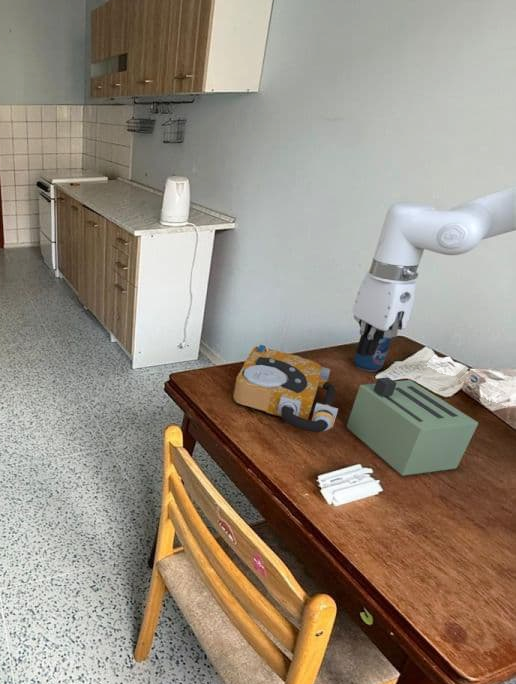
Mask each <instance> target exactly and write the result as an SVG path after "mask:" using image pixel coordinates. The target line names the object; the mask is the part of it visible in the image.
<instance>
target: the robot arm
mask: <svg viewBox="0 0 516 684" xmlns="http://www.w3.org/2000/svg"><path fill="white" fill-rule="evenodd" d="M515 231H516V185H514V186H511V187H508V188H505V189H502V190H499V191H496V192H493V193H490V194H487V195H484V196H481V197H478V198H475V199H472V200H469V201H466V202H463V203H460V204H458V205H455V206H454V207H452V208H450V209H449V210H437V209H436V208H435V207H434V206H432V205H431V204H427V203H421V202H404V201H403V202H397V203H393V204H392V205H390V206H389V208H388V209H387V212H386V214H385V217H384V221H383V224H382V228H381V231H380V234H379V238H378V241H377V243H376V247H375V251H374V254H373V258H372V261H371V263H370V268H369V270H368V271H367V272H366V274H365V276H364V278H363V280H362V281H361V284H360V287H359V289H358V292H357V294H356V297H355V300H354V304H353V307H352V313H353V319H354V320H355V321H356V322H357V323H358V325H359V335H360V337H361V338H359V341H358V344H357V348H356V351H355V353H356V352H357V353H358V354H360V355H361V356H369V355H374V354H375V352H376V349H377V346H378V343H379V340H380V339H383V338H384V337H385V338H392V339H396V338H397V337H398V332H399V331H403V330H406V328H407V326H408V323H409V320H410V317H411V313H412V310H413V307H414V302H415V298H416V297H415V296H416V290H417V282H416V281H414V280H416V279H417V278H418V277H419V273H418V272H417V271H418V269H419V266H420V263H421V260H422V257H423V254H424V252H425V250H427V251H430V252H433V253H437V254H440V255H443V256H444V255H445V256H459V255H463V254H467V253H468V252H471V251H472V250H473V249H474V248H476V247H477V246H478V245H479V244H480V243H481V241H484V240H486V239H490V238H493V237H496V236H500V235H503V234H504V235H505V234H507V233H510V232H515ZM378 330H380V331H378ZM398 330H399V331H398ZM361 335H362V336H361Z"/></svg>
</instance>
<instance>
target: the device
mask: <svg viewBox="0 0 516 684" xmlns="http://www.w3.org/2000/svg"><path fill="white" fill-rule="evenodd" d="M330 373H331V368H328V367H325V366H322V365H321V364H319V363H317V362H316V361H314V360H313V359H308V358H305V357H302V356H300V355H295V354H291V353H288V352H283V351H279V350H275V349H271V348H266V345H263V344H259V346H255V347H253V349H252V351H250V354H249V355H248V356H247V358H246V360H245V361H244V363H243V366H242V367H241V369H240V371H239V372H238V374H237V376H236V380H235V385H234V390H233V400H234V401H235V402H236V403H237V404H239V405H243V406H246V407H248V408H249V407H250V408H252V409H255V410H260V411H263V412H265V413H266V414H269V415H274V416H278V417H281V418H282V419H283V420H284V421H285V422H286V423H287V424H288V425H291V426H293V427H294V428H298V429H301V430H304V431H307V432H312V433H321V432H325V431H326V432H327V431H329V430H330V429H332V428H334V425H335V421H336V418H337V415H338V411H339V408H337V407H334V406H333V401H334V398H335V393H336V388H335V385H333V384H332V383H331V382H329V377H330ZM318 388H319V389H321V390H326V392H325V396H324V398H323V399H324V400H323V403H319V402H316V404H315V405H314V402H315V399H316V395H317V391H318ZM313 405H314V406H315V407H314V409H313V413H312V416H311V420H310V419H309V418H310V414H311V412H312V408H313Z"/></svg>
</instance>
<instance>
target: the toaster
mask: <svg viewBox="0 0 516 684" xmlns="http://www.w3.org/2000/svg"><path fill="white" fill-rule="evenodd" d="M394 382H396V383H397V384H396V387H395V389H394V392H393V395H392V396H383V397H382V396H380V395H379V394H377V393H376V392H375V391H374V387H375V385H376V383H368V384H367V383H366V384H360V385H359V386H358V387H359V388H358V390H357V392H356V393H357V394H356V396H355V399H354V403H353V405H352V409H351V412H350V415H349V418H348V421H347V424H346V429H348V430H349V432H351V433H352V434H353V435H354V436H356V437H357V438H358V439H359V440H360V441H362V442H363V443H364V444H365V445H366V446H367V447H368V448H369V449H371V450H372V451H373V452H374V453H375V454H376V455H378V457H380V458H381V459H382V460H384V462H386V464H388V466H390V467H391V468H393V469H394V471H396V472H397V473H398V474H399V475H401V476H410V475H417V474H418V475H419V474H426V473H432V472H433V473H434V472H441V471H447V470H455V469H458V466H459V464H460V462H461V460H462V458H463V456H464V454H465V452H466V450H467V448H468V446H469V444H470V442H471V439H472V437H473V436H474V433H475V432H476V430H477V428H478V426H479V422H478V421H477V420H475V419H474V418H472V417H471V416H469V415H467V414H465V413H464V412H462V411H461V410H459V409H458V408H456V407H454V406H453V405H451V404H450V403H448V402H446V401H445V400H443V399H442V398H440V397H438V396H437V395H435V394H434V393H432V392H431V391H429V390H427V389H426V388H424V387H422V386H421V385H419V384H418V383H416V382H414V381H413V380H411V379H407V380H406V379H405V380H396V381H394Z"/></svg>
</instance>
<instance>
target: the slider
mask: <svg viewBox="0 0 516 684" xmlns="http://www.w3.org/2000/svg"><path fill="white" fill-rule="evenodd" d="M375 384H376V385H375V387H374V391H375V392H376V393H377V394H379V395H380V396H382V397H383V396H392V395H393V392H394V389H395V387H396V384H397V383H396V382H395V381H394V380H393V379H391V378H390V377H388V376H387V377H378V378H377V379H376V382H375Z"/></svg>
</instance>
